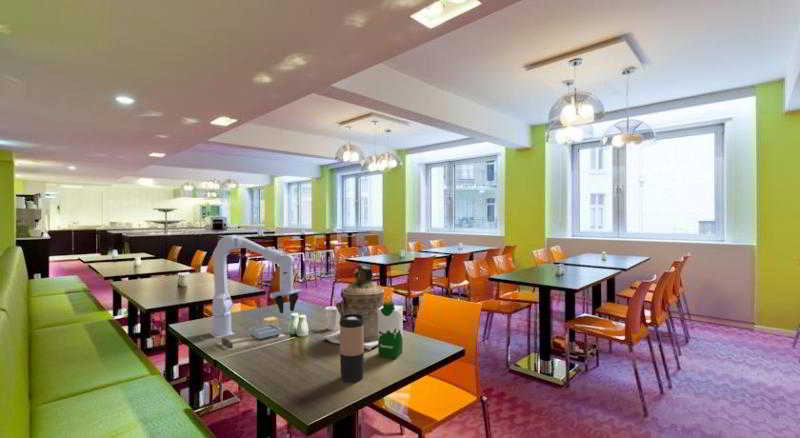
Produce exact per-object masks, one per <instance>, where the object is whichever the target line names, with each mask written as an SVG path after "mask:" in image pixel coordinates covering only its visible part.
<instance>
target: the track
mask: <svg viewBox="0 0 800 438" xmlns="http://www.w3.org/2000/svg"><path fill="white" fill-rule="evenodd" d="M287 337H288V336H287V335H285V334H283V333H282V334H279V337H276V336H275V335H273V336H269V337H265V338H263V340H262V341H260V340H259V339H258V338H256V337H255V336H251V334H249V335H244V336H238V337H235V338H229V339H228V338H226V337H221V341H218V342H216V344H217V345H218V346H220V347H221V348H223V349H224V350H225V351H227V352H230V351H233V350H238V349H243V348H247V347H250V346H255V345H259V344H262V343H266V342H267V343H268V342H271V341H276V340H279V339H280V340H281V339H283V338H287Z"/></svg>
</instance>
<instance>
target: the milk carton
mask: <svg viewBox="0 0 800 438" xmlns="http://www.w3.org/2000/svg"><path fill="white" fill-rule="evenodd" d="M403 314H404V305H403V306H402V305H395V303H394V302H392V301H385V302H383V306H381V307H380V308H379V309H378V345H377V346H378V348H377V349H378V357H380V358H385V357H386V359H393V358H394V360H397V359H396V358H398V357H400V355H401V354H403V344H404V343H403V341H404V340H403V338H404V337H403V335H404V333H403V332H404V331H403V330H404V328H403V326H404V325H403V320H404V318H403Z"/></svg>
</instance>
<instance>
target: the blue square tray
mask: <svg viewBox="0 0 800 438" xmlns="http://www.w3.org/2000/svg"><path fill="white" fill-rule="evenodd" d="M248 334H249V335H251V336H255V337H256V338H258V339H259V340H260V341H262V340H263V338H265V337H269V336H273V335H275V336H276V337H279V334H283V333H282V328H281V327H279V326H278V327H277V326H275V325H272V324H268V325H264V326H263V325H260V326H254V327H250V328H249V329H248Z"/></svg>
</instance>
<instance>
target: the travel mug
mask: <svg viewBox="0 0 800 438" xmlns="http://www.w3.org/2000/svg"><path fill="white" fill-rule="evenodd" d="M340 316H341V315H340ZM339 319H340V320H339V322H340V325H339V330H340V344H339V357H340V360H339V361H340V380H341V381H342V382H344V383H349V384H350V383H352V384H353V383H354V384H355V383H358V382H361V381H362V380H363V378H364V361H365V360H364V355H365V350H364V333H363V316H362V315H359V314H347V315H343V316H341V317H339Z"/></svg>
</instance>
